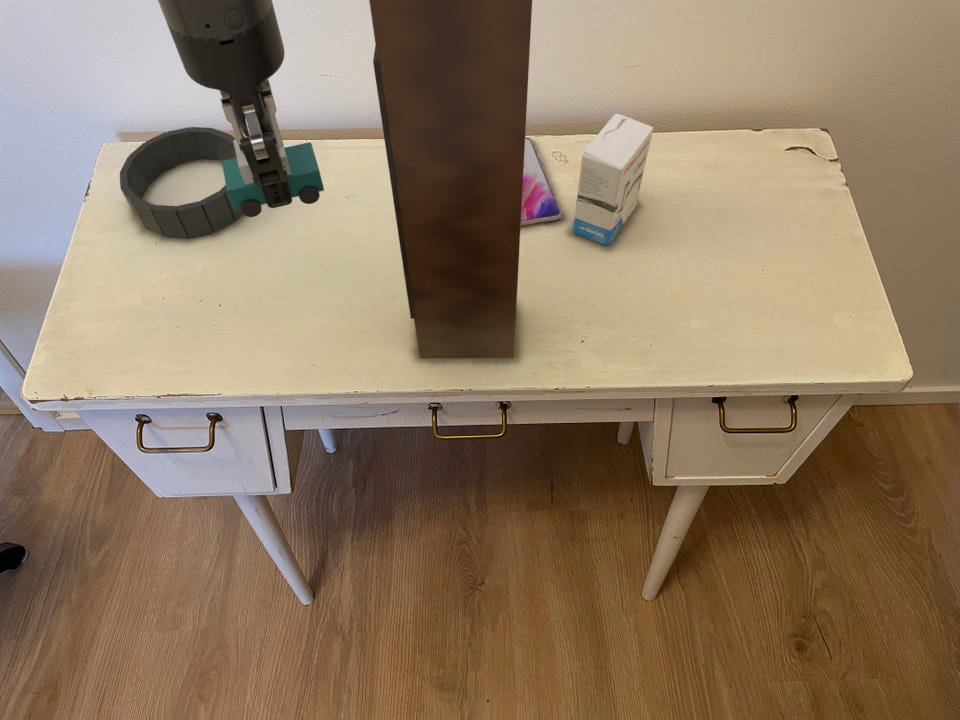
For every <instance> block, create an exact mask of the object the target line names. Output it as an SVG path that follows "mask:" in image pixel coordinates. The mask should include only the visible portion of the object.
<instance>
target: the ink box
mask: <svg viewBox="0 0 960 720" xmlns="http://www.w3.org/2000/svg"><path fill="white" fill-rule="evenodd" d="M653 133H654V126H652V125H649V124H647V123H644V122H641V121H639V120H636V119H633V118H631V117H629V116H626V115H623V114H621V113H615V114H614V115H612V117H611V118H610V119H609V120H608V122H606V124H605V125H604V127H603V128H602V129H601V130H600V131H599V132H598V134H597V135H596V136H595V137H594V138H593V139H592V141H591V142H590V143H589V144H588V145H587V146H586V147H585V148H584V153H583V154H582V156H581V163H580V171H579V179H578V185H577V186H578V187H577V196H576V197H577V198H576V202H575V205H576V206H575V212H574V220H573V228H572V233H573V234H575V235H578V236H580V237H583V238H586V239H588V240H590V241H592V242H596V243H598V244H601V245H604V246H606V247H607V246H610V244H611V243H612V242H613V240H614V239H615V237H616V236H617V235H618V233H619V232H620V230H621V228H622V227H623V226H624V224H625V222H626V221H627V220H628V219H629V217H630V216H631V214H632V212H633V211H634V210H635V208H636V207H637V204H638V199H639V194H640V190H641V186H642V181H643V177H644V171H645V167H646V163H647V160H648V159H647V158H648V154H649V151H650V145H651V141H652V136H653Z"/></svg>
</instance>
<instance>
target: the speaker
mask: <svg viewBox="0 0 960 720" xmlns="http://www.w3.org/2000/svg"><path fill="white" fill-rule="evenodd" d="M368 1H369V9H370V15H371V23H372V31H373V36H374V37H373V38H374V44H375V46H374V52H373V59H372V65H373V71H374V77H375V83H376V91H377V98H378V104H379V112H380V118H381V124H382V131H383V132H382V134H383V138H384V144H385V145H384V146H385V152H386V159H387V166H388V172H389V173H388V174H389V179H390V186H391V194H392V201H393V207H394V214H395V220H396V221H395V222H396V228H397V235H398V241H399V242H398V243H399V250H400V256H401V261H402V269H403V276H404V282H405V289H406V295H407V296H406V297H407V304H408V309H409V316H410V319H411V320H413V321H414V322H413V323H414V330H415V335H416V343H417V350H418V357H419V359H492V358H493V359H499V358H500V359H505V358H506V359H509V358H514V357H515V342H516V341H515V340H516V323H517V304H518V286H519V266H520V265H519V263H520V245H521V228H522V227H521V226H522V225H521V209H522V189H523V170H524V151H525V137H526V131H527V111H528V110H527V108H528V107H527V106H528V92H529V91H528V90H529V74H530V73H529V71H530V53H531V35H532V34H531V33H532V32H531V31H532V16H533V15H532V13H533V0H368Z"/></svg>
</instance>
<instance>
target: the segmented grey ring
mask: <svg viewBox="0 0 960 720" xmlns="http://www.w3.org/2000/svg"><path fill="white" fill-rule="evenodd" d="M233 140H237V139H236V137H235V136H234V135H231V134H230V133H228V132H225V131H222V130H220V129H216V128H213V127H200V126H188V127H184V128H178V129H173V130H168V131H165V132H163V133H160V134H158V135H155V136H154V137H152V138H150V139H148V140H145V142H143V143H141V144H140V145H139V146H138V147H137V148H135V150H133V151H132V152H131V153H130V154H128V156H127V157H126V159H125V162H124V164H123V165H122V167H121V169H120V171H119V188H120V190H121V192H122V195H123V196H124V197H125V200H126V202H127V203H128V205H129V206H130V208H131V210H132V212H133V214H134V216H135V218H137V220H138V221H139V222H140V223H141V225H142V226H143V227H144V228H145V229H146V230H148V231H149V232H152V233H154V234H156V235H159V236H162V237H165V238H172V239H173V238H174V239H193V238H198V237H202V236H203V237H204V236H206V235H211V234H214V233H216V232H218V231H220V230H222V229H224V228H226V227H228V226H230V225H232V224H233V223H235V221H237V220H238V219H239V218H241V217H242V215H243V214H242V213H241V210H234V207H233V205H232V202H231V200H230V197H229V195H228V192H227V188H226V184H224V186H223V187H221V188H220V190H218V191H216V192H215V193H212V194H210V195H209V196H206V197H204V198H203V199H200V200H197V201H194V202H189V203H184V204H179V205H164V204H163V205H162V204H154V203H151V202H150V201H146V200H144V199H143V198H144V196H145V194H146V192H147V189H148V188H149V186H150V185H151V184H152V183H153V182H154V181H155V180H156V179H157V178H159V176H161V175H162V174H163V173H165V172H167V171H169V170H171V169H173V168H175V167H176V166H179V165H182V164H186V163H191V162H194V161H199V160H204V161H205V160H206V161H221V162H222V161H225V160H229V159H234V158H237V156H236V151H235V146H234V141H233Z"/></svg>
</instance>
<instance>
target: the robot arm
mask: <svg viewBox="0 0 960 720" xmlns="http://www.w3.org/2000/svg"><path fill="white" fill-rule="evenodd" d="M157 2H158V4H159V7H160V9H161V12H162V14H163V17H164V19H165V23H166V24H167V25H166V26H167V27H168V30H169V32H170V35H171V38H172V41H173V43H174V44H175V45H174V46H175V48H176V50H177V54H178V56H179V58H180V60H181V64H182V65H183V69H184V71H185V73H186V75H187V76H188V77H189V78H190V79H191V80H192V81H193V82H194V83H196V84H198V85H200V86H202V87H204V88H207V89H210V90H216V91H219V93H220V96H221V98H220V104H221V107H222V110H223V114H224V116H225V119H226V121H227V122H228V123H230V125H231V127H232V130H233V133H234V137H235V139H236V140H237V142H238V145H239V148H240V151H241V153H242V154H243V155H245V158H246V160H247V163H248V165H249V168H250V170H251V173H252V175H253V181H254V184H255V183H256V185H257V187H261V188H262V191H263V194H264V197H265V200H266V203H267V204H266V205H267V207H268V208H270V209H276V208H280V207H284V206H288V205H289V206H290V205H291V204H292V203H293V198H292V197H291V193H290V190H289V187H288V183H287V179H286V176H287V172H286V170H284V168H286V167H285V164H284V162H283V163H282V160H281V156H280V153H279V149H280V148H281V147H282V145H283V144H284V142H282V141H283V137H282V135H281V131H280V128H279V124H278V121H277V117H276V113H277V106H276V101H275V99H274V95H273V91H272V87H271V83H270V78H271V77H272V76H274V75H275V74H276V73H277V72H278V71H279V69H280V68H281V66H282V64H283V63H284V60H285V54H286V53H285V46H284V42H283V39H282V35H281V30H280V27H279V23H278V19H277V15H276V11H275V7H274V3H273V0H157ZM270 132H271V133H270ZM265 133H267V134H265ZM244 135H245V136H244ZM246 137H248V138H246ZM249 137H250V138H249Z"/></svg>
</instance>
